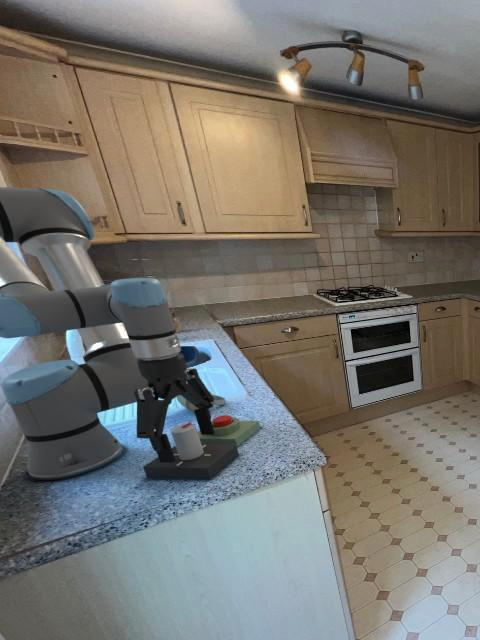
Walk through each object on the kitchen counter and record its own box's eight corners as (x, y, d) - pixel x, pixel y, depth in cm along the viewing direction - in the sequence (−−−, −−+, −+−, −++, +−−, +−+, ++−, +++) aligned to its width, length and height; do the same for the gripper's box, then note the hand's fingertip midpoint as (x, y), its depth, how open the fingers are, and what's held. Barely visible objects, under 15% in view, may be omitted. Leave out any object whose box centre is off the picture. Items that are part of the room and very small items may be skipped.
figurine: (160, 333, 200) (153, 308, 195) (175, 329, 206) (168, 306, 202) (170, 334, 198) (163, 310, 193) (185, 331, 204) (178, 307, 200)
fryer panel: (147, 478, 89) (142, 466, 88) (181, 454, 98) (178, 443, 97) (210, 479, 89) (206, 467, 88) (239, 455, 98) (236, 444, 97)
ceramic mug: (189, 417, 116) (182, 393, 113) (179, 409, 120) (172, 386, 118) (230, 406, 124) (225, 382, 121) (220, 399, 128) (214, 376, 126)
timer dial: (194, 460, 90) (185, 431, 88) (174, 460, 90) (164, 431, 88) (208, 450, 94) (199, 422, 92) (189, 449, 94) (180, 422, 92)
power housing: (190, 445, 102) (185, 431, 100) (217, 427, 111) (213, 414, 110) (237, 446, 102) (233, 432, 100) (260, 427, 111) (257, 414, 110)
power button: (210, 427, 103) (208, 421, 103) (221, 420, 107) (219, 414, 106) (226, 428, 103) (224, 422, 103) (236, 421, 107) (234, 415, 106)
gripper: (126, 376, 72) (163, 477, 80) (217, 340, 94) (238, 423, 103) (84, 375, 72) (126, 477, 80) (185, 339, 94) (209, 422, 103)
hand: (189, 447), depth 92 cm, fingers open, 11 cm apart
